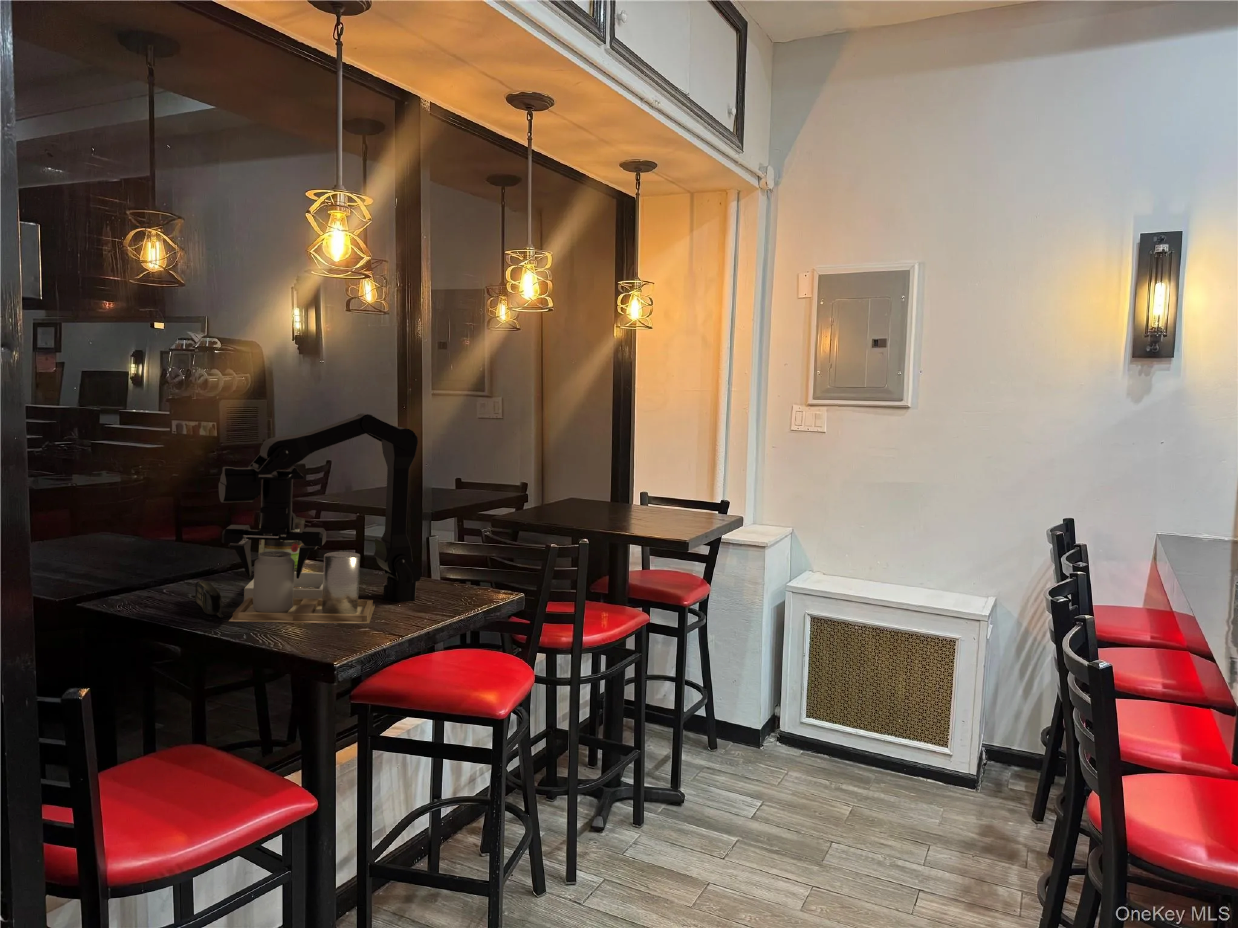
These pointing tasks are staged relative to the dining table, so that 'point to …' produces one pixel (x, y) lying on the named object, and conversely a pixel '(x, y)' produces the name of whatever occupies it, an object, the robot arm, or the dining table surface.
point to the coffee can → (285, 543)
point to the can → (273, 582)
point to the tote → (304, 581)
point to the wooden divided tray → (304, 613)
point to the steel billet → (340, 583)
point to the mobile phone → (208, 598)
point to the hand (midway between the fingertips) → (273, 577)
